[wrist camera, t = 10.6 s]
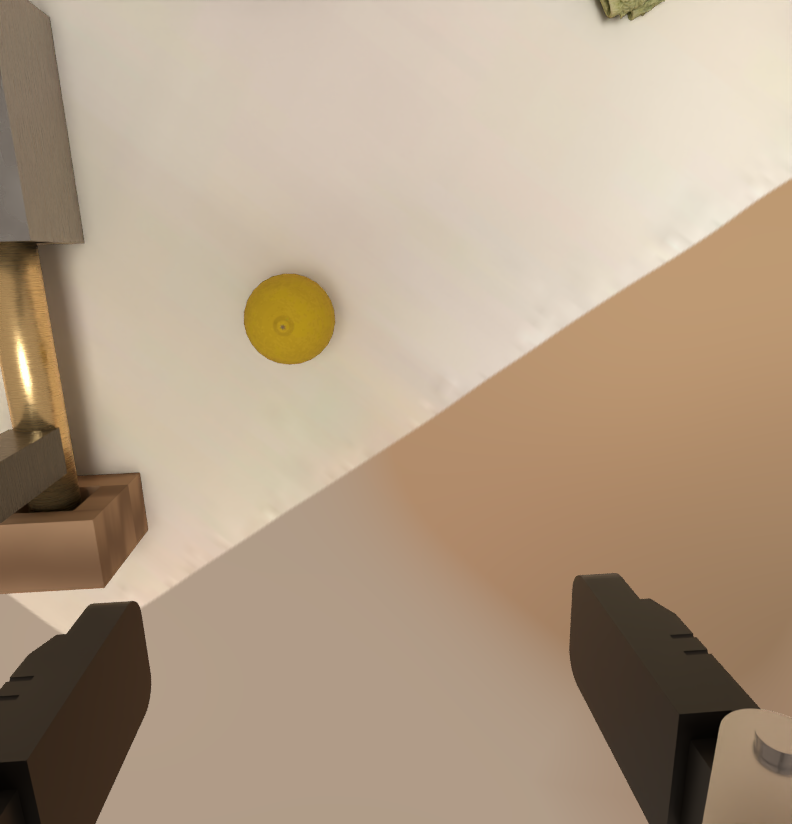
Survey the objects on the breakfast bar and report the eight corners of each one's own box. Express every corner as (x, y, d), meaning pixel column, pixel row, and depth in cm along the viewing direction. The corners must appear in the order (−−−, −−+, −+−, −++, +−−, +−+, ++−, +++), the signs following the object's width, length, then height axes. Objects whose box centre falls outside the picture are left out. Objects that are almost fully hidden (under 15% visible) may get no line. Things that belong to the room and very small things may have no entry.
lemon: (240, 325, 41) (213, 341, 33) (282, 255, 40) (265, 255, 32) (309, 368, 42) (299, 393, 34) (352, 301, 41) (351, 312, 33)
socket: (25, 478, 43) (-48, 527, 35) (139, 472, 43) (92, 520, 35) (36, 535, 44) (-32, 595, 36) (148, 529, 44) (104, 587, 37)
